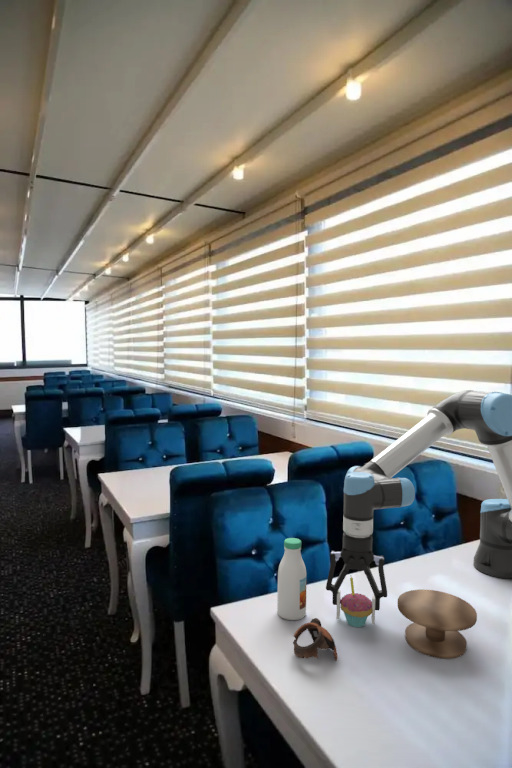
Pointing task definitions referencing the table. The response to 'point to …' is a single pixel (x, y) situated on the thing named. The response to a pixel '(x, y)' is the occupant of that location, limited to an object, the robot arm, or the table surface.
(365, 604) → the cupcake
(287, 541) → the milk bottle
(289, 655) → the table surface
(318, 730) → the table surface
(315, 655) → the broken pottery fragment
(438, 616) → the cake stand
